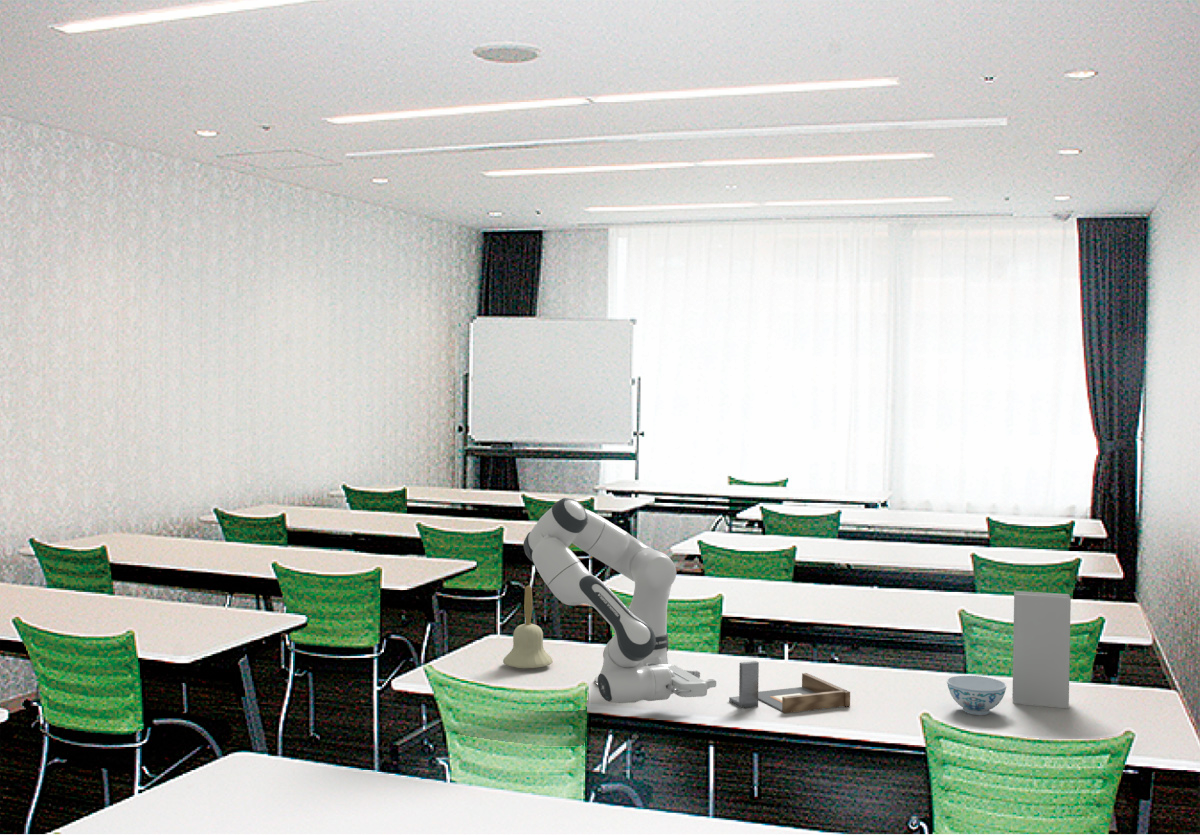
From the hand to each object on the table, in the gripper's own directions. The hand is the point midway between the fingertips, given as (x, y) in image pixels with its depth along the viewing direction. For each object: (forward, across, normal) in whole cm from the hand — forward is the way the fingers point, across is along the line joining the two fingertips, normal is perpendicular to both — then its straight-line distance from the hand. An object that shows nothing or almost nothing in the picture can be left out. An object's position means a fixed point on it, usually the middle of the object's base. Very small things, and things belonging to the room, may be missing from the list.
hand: (706, 678), depth 295 cm
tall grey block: (+90, -24, +8) cm, 94 cm away
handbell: (-30, +62, +9) cm, 69 cm away
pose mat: (+28, +2, +8) cm, 29 cm away
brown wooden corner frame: (+29, +2, +8) cm, 30 cm away
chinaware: (+68, -24, +8) cm, 73 cm away
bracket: (+13, +3, +9) cm, 16 cm away
